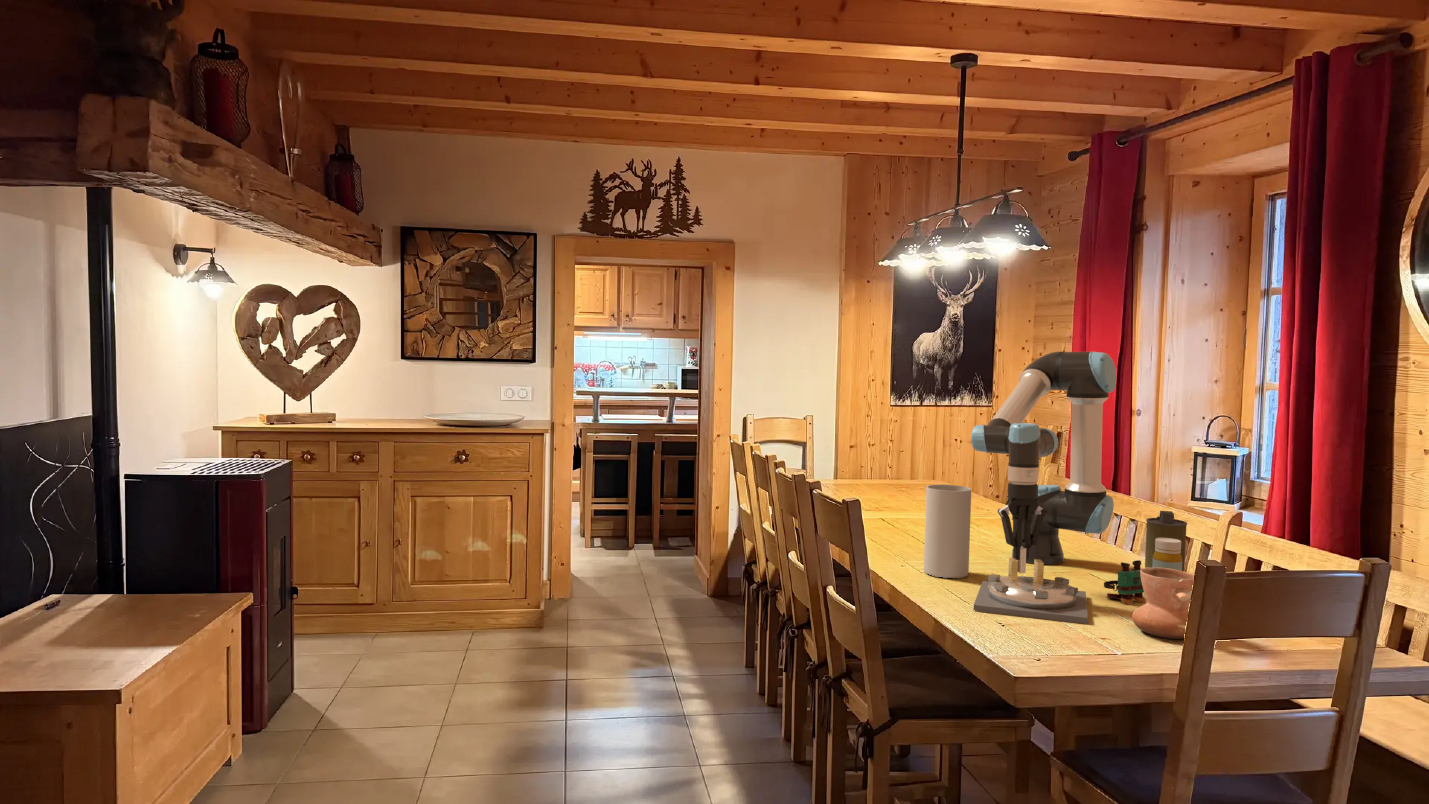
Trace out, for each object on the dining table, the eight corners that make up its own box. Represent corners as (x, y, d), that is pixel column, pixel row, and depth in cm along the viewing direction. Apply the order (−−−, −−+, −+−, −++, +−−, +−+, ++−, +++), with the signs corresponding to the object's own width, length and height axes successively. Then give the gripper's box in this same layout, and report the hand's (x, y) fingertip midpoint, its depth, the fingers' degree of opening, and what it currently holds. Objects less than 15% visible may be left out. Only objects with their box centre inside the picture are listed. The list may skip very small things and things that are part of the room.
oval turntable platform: (982, 585, 241) (983, 555, 240) (1063, 589, 238) (1064, 559, 238) (996, 607, 220) (997, 575, 219) (1086, 612, 217) (1087, 579, 216)
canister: (1189, 587, 248) (1192, 515, 247) (1148, 585, 251) (1152, 513, 249) (1177, 578, 259) (1180, 509, 258) (1138, 575, 261) (1141, 507, 260)
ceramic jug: (1217, 647, 197) (1220, 582, 196) (1148, 643, 198) (1151, 579, 197) (1180, 624, 215) (1183, 565, 214) (1118, 621, 216) (1121, 562, 215)
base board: (982, 586, 246) (982, 578, 246) (1085, 597, 236) (1085, 589, 236) (973, 610, 222) (973, 602, 221) (1087, 624, 212) (1087, 615, 212)
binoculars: (1117, 556, 241) (1150, 560, 233) (1119, 596, 241) (1152, 602, 232) (1094, 559, 237) (1127, 564, 228) (1096, 600, 237) (1129, 605, 228)
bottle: (1178, 593, 242) (1180, 538, 241) (1182, 600, 235) (1185, 543, 234) (1149, 591, 244) (1152, 536, 243) (1153, 597, 237) (1155, 541, 236)
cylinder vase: (960, 581, 250) (963, 492, 249) (917, 575, 257) (920, 488, 256) (973, 572, 261) (976, 487, 260) (931, 566, 268) (934, 483, 266)
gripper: (1006, 485, 230) (1004, 576, 231) (1053, 484, 232) (1050, 574, 233) (993, 480, 237) (990, 569, 239) (1038, 480, 239) (1036, 567, 241)
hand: (1020, 571), depth 236 cm, fingers closed
